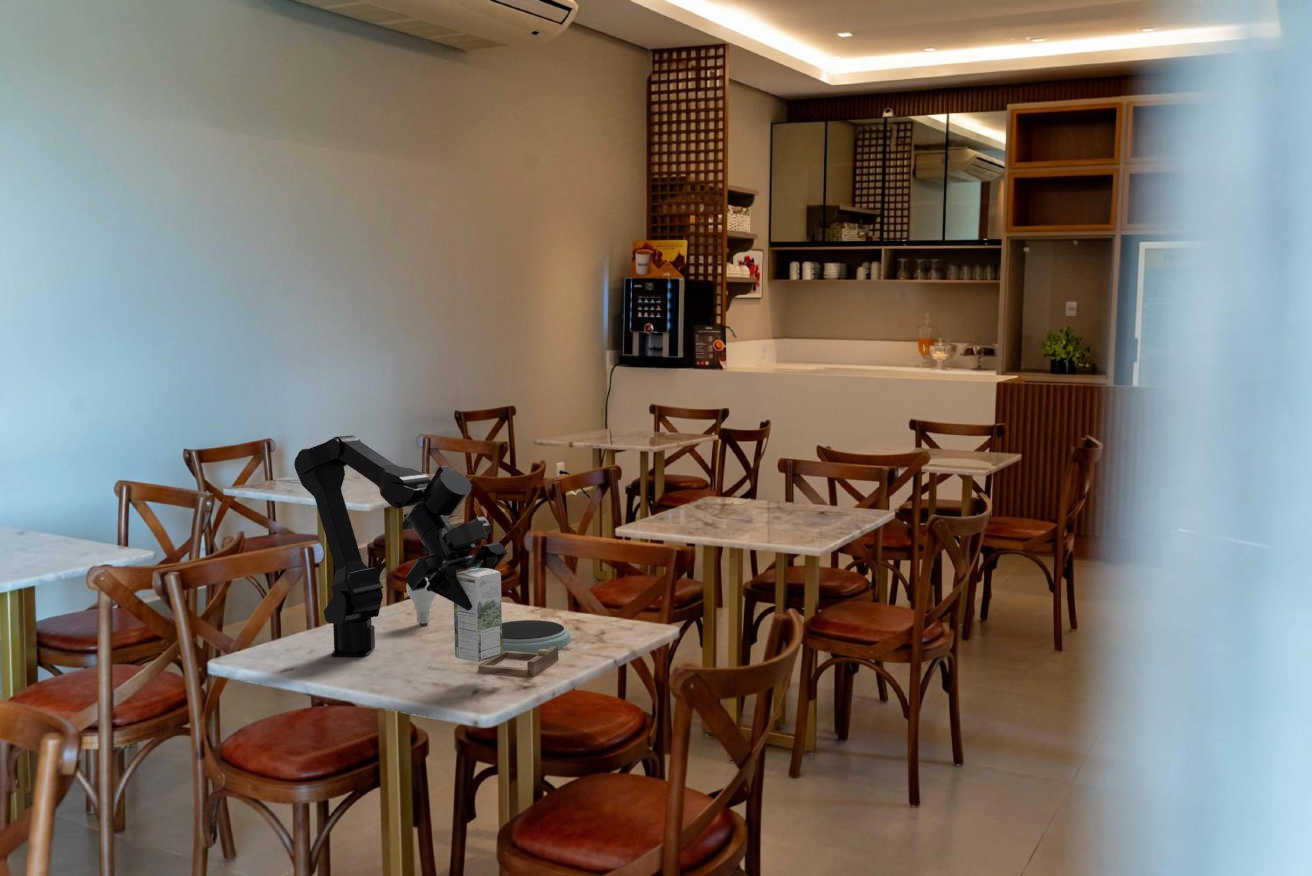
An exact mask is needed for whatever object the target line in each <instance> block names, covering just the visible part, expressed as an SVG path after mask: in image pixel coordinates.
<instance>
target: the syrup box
mask: <svg viewBox="0 0 1312 876" xmlns="http://www.w3.org/2000/svg"><path fill="white" fill-rule="evenodd" d="M456 576H457V580H458V581H459V583H460V585H461V586H462V588H463V590H464V591H465V593H466V595H467V596H468V598H469V600H470V602H471V604H472V608H471V609H470V610H466V609H464V608H462V607H461V606H459V605H457V604H455V603H454V602H453V617H454V618H453V619H454V620H453V622H454V623H453V624H454V627H453V628H454V657H455V658H457V659H462V660H466V661H472V662H475V663H476V662H477V663H478V662H479V663H481V662H484V661H486V660H488V659H490V658H493V657H496V656H499V655H502V620H503V617H502V616H503V615H502V612H503V611H502V577H501V576H502V573H501V572H500V571H499V570H496V569H494V570H492V569H488V568H476V569H471V570H468V569H466V570H462V571H459V572H456Z"/></svg>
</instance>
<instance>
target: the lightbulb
mask: <svg viewBox="0 0 1312 876" xmlns="http://www.w3.org/2000/svg"><path fill="white" fill-rule="evenodd" d="M425 579H426V581H427V584H426V587H425V588H424V589H420V590H415V591H412V590H411V588H410V587H409V585H408V583H407V582H406V592H407V594H408V597H409V598H410V600H411V601H412V603H413V606H414V609H415V611H416V623H417V624H419V625H421V626H426V625H427V624H429V623H430V622H431V614H430V613H431V609H432V606H433V605H432V604H433V601H434V599H435V598H436V595H437V594H436V593H434V592H432V591H427V590H426V588H427V587H428V586H429V584H430V583H429V582H428V579H427V577H426V578H425Z"/></svg>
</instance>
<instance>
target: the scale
mask: <svg viewBox="0 0 1312 876" xmlns="http://www.w3.org/2000/svg"><path fill="white" fill-rule="evenodd" d="M569 643H570V644H571V643H572V637H571V634H570V631H569V630H568V629H567V628H565V626H564V625H563V624H561V623H558V622H555V621H550V620H537V619H535V620H534V619H531V620H530V619H525V620H523V619H522V620H504V619H502V652H503V651H517V652H530V653H538V650H540V649H548V648H550V647H551V646H558V651H560V650H562V649H564V648H563V647H565V646H567V645H568V644H569ZM570 644H569V645H570ZM569 645H568V646H569ZM568 646H567V647H568ZM561 648H562V649H561ZM565 648H566V647H565Z"/></svg>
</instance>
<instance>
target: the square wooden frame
mask: <svg viewBox="0 0 1312 876" xmlns="http://www.w3.org/2000/svg"><path fill="white" fill-rule="evenodd" d="M506 658H508V659H509V658H510V659H518V660H528V661H527V664H526V665H527V668H525V667H524V668H523V667H513V666H501V665H496V664H498V663H500V662H502V661H503V660H506ZM556 661H557V662H558V661H559V650H558V646H551V647H550V648H548V649H540V650H538V653H530V652H517V651H503V652H502V655H499V656H496V657H493V658H490V659H487V660H484V661H482V662H480V663H479V665H478V667H477V671H478V673H489V674H500V675H501V674H502V675H509V676H510V675H512V676H521V677H523V676H524V677H536V676H537V675H538V674H540V673H542V672H543V671H545V670H546V669H548V668H549V667H551V666H552V665H554V664H555V663H556ZM553 663H554V664H553Z"/></svg>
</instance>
